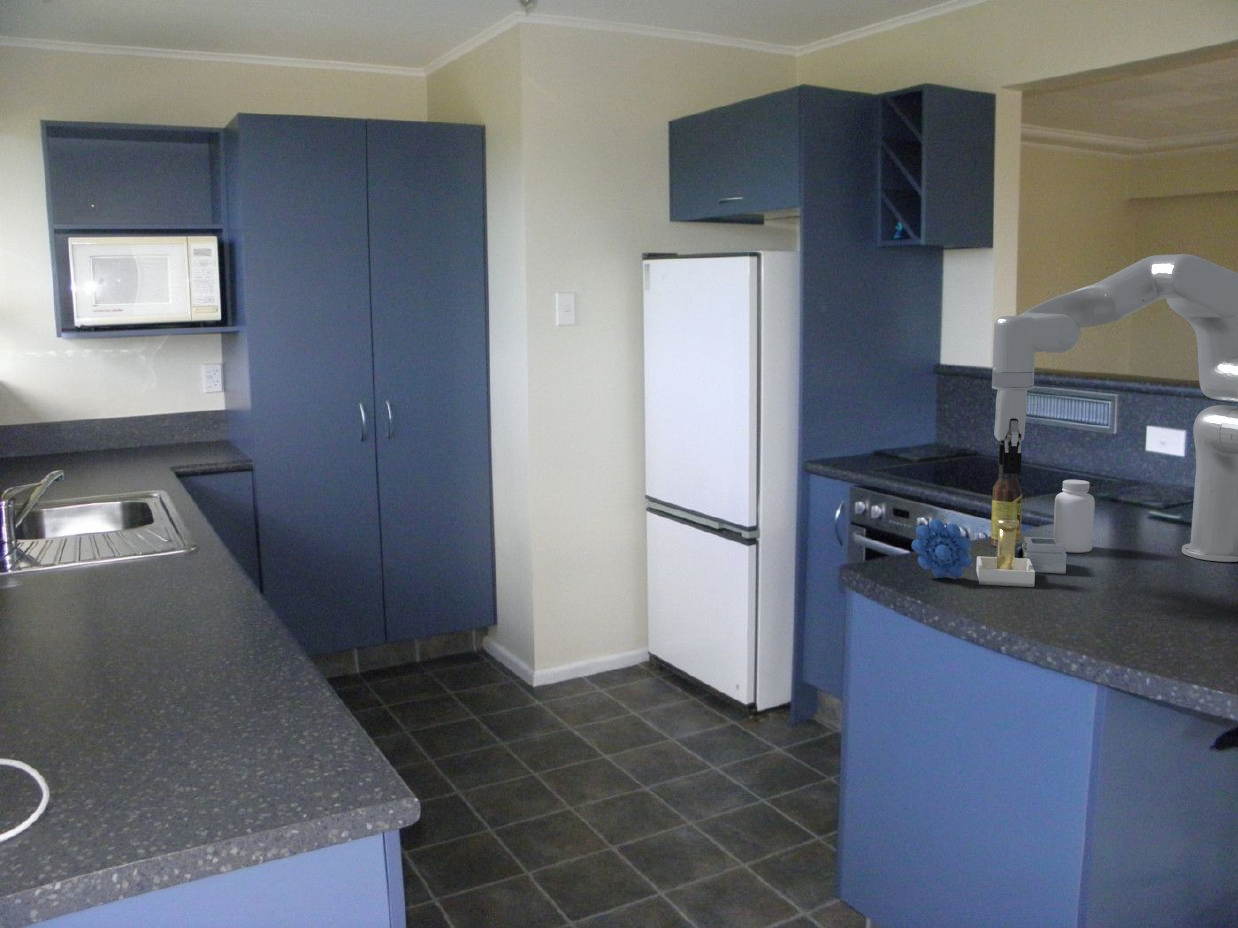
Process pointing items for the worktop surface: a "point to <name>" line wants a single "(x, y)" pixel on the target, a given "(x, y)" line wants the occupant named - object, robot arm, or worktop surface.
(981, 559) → the tray
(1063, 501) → the pill bottle
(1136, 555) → the worktop surface
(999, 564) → the pin
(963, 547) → the blue flower
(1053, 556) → the tensioner block
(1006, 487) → the sauce bottle
